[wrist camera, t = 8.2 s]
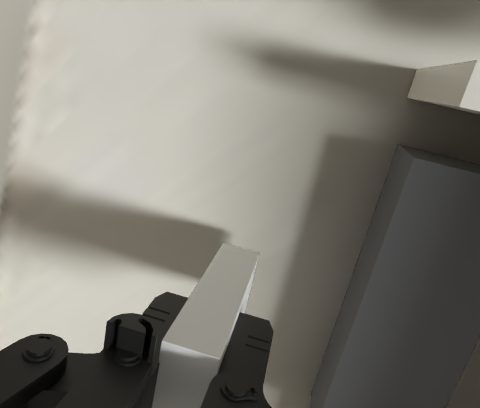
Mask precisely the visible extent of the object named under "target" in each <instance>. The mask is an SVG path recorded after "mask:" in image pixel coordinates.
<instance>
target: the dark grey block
mask: <svg viewBox="0 0 480 408" xmlns="http://www.w3.org/2000/svg"><path fill="white" fill-rule="evenodd" d="M479 337H480V165H479V164H475V163H471V162H467V161H463V160H458V159H454V158H450V157H446V156H442V155H438V154H434V153H430V152H426V151H422V150H418V149H414V148H410V147H406V146H402V145H398V146H397V149H396V152H395V154H394V157H393V160H392V163H391V166H390V169H389V172H388V175H387V177H386V180H385V183H384V186H383V189H382V192H381V195H380V197H379V200H378V203H377V206H376V209H375V212H374V215H373V218H372V220H371V223H370V226H369V229H368V232H367V235H366V238H365V240H364V243H363V246H362V249H361V252H360V255H359V258H358V261H357V263H356V266H355V269H354V272H353V275H352V278H351V281H350V284H349V286H348V289H347V292H346V295H345V298H344V301H343V304H342V306H341V309H340V312H339V315H338V318H337V321H336V324H335V327H334V329H333V332H332V335H331V338H330V341H329V344H328V347H327V349H326V352H325V355H324V358H323V361H322V364H321V367H320V370H319V372H318V375H317V378H316V381H315V384H314V387H313V390H312V392H311V405H310V408H445V406H446V404H447V402H448V400H449V398H450V396H451V394H452V392H453V390H454V388H455V386H456V384H457V382H458V380H459V378H460V376H461V374H462V372H463V370H464V368H465V366H466V363H467V361H468V359H469V357H470V355H471V353H472V351H473V349H474V347H475V345H476V343H477V341H478V339H479Z"/></svg>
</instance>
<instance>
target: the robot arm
mask: <svg viewBox="0 0 480 408" xmlns="http://www.w3.org/2000/svg"><path fill="white" fill-rule="evenodd" d="M258 258H259V252H255V251H251V250H248V249H244V248H240V247H237V246H233V245H230V244H226V243H223V244H222V245H221V247H220V249H219V250H218V252H217V253H216V255H215V257H214V258H213V260H212V261H211V263H210V265H209V266H208V268H207V269H206V271H205V273H204V274H203V276H202V277H201V279H200V281H199V282H198V284H197V285H196V287H195V289H194V290H193V292H192V293H191V295H190V297H189V298H187V297H183V296H180V295H176V294H173V293H170V292H165V293H163V294H161V295H159V296H157V297H155V299H154V300H153V301H152V302H151V304H150V305H149V306H148V308H147V309H146V310H145V311H144V313H143V315H140V314H134V313H128V314H120V315H117V316H114V317H112V318H111V319H110V320H108V321H107V325H106V333H105V341H104V349H103V350H102V351H101V352H100V353H95V354H83V353H68V346H67V343H66V342H65V341H64V340H63V339H62V338H61V337H58V336H55V335H52V334H36V335H30V336H28V337H25V338H23V339H20V340H18V341H17V342H15V343H13V344H11V345H10V346H8V347H6V348H4V349H3V350H1V351H0V408H272V407H271V406H270V405H269V404H268V403H267V401H266V399H265V397H264V394H263V383H264V378H265V372H266V367H267V362H268V357H269V352H270V347H271V342H272V337H273V329H272V327H271V324H270V322H269V321H268V320H265V319H261V318H258V317H254V316H251V315H248V314H244V313H245V310H246V306H247V302H248V298H249V294H250V290H251V286H252V282H253V278H254V274H255V270H256V266H257V262H258Z"/></svg>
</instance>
